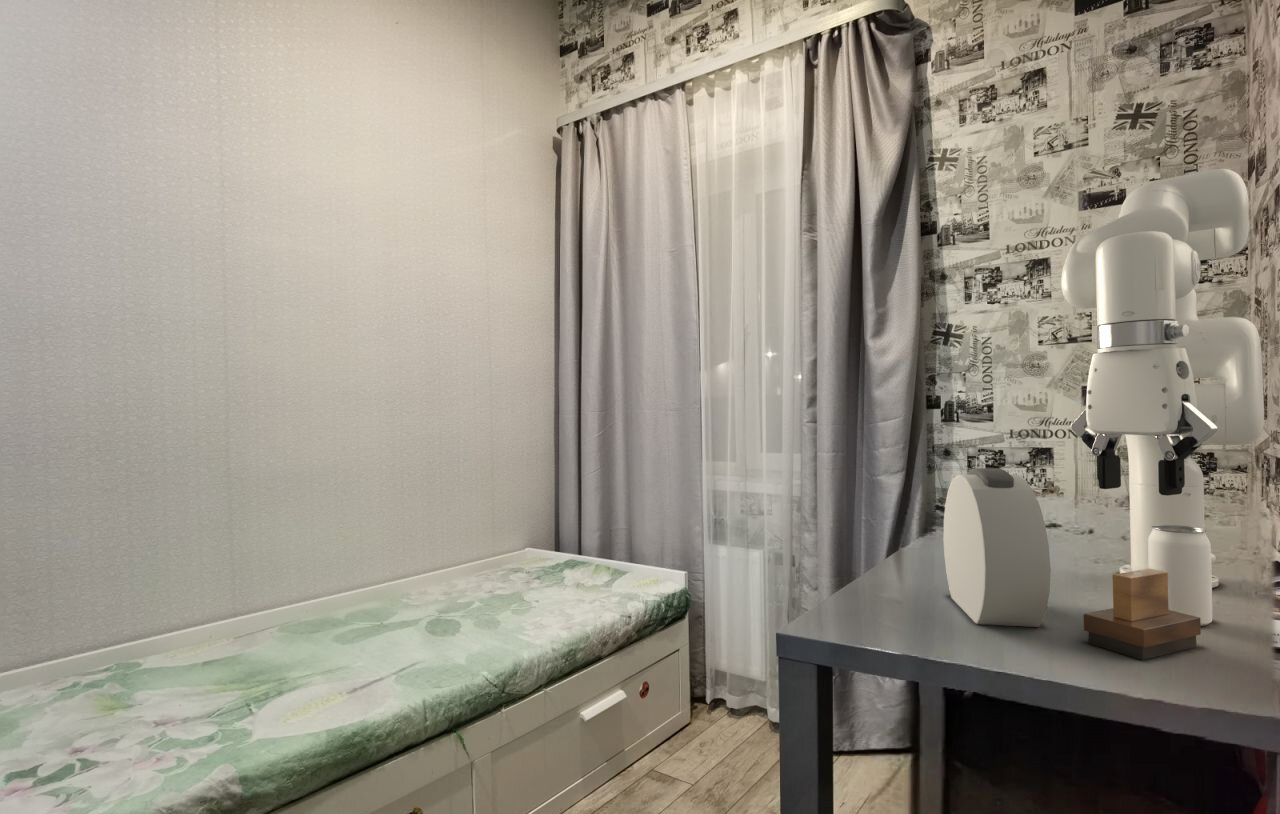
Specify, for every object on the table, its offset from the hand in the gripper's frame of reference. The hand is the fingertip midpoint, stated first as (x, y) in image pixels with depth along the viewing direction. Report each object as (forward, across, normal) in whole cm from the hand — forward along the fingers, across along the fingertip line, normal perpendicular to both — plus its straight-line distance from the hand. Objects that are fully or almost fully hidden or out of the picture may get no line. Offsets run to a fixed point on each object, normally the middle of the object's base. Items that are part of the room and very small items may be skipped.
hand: (1139, 489), depth 79 cm
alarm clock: (+19, +17, +5) cm, 25 cm away
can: (+19, +4, -14) cm, 24 cm away
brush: (+18, 0, +1) cm, 18 cm away
